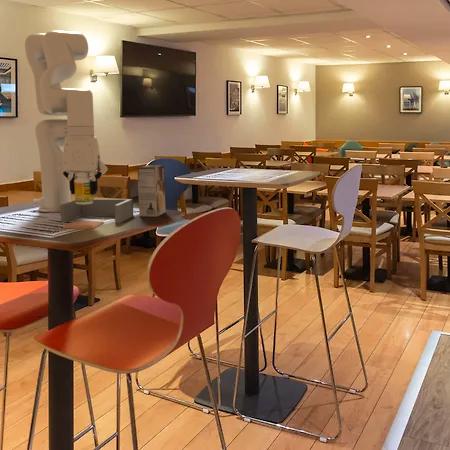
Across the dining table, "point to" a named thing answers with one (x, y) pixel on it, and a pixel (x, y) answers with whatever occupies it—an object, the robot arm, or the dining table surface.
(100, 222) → the tile
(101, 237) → the dining table surface
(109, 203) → the open box
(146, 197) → the coffee box
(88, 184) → the supplement bottle
